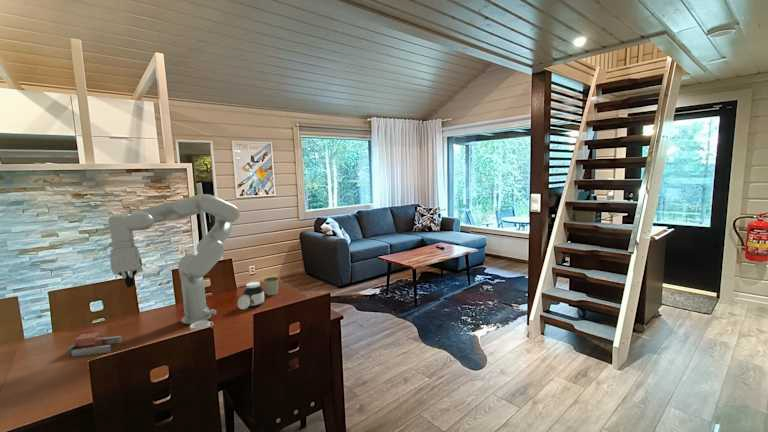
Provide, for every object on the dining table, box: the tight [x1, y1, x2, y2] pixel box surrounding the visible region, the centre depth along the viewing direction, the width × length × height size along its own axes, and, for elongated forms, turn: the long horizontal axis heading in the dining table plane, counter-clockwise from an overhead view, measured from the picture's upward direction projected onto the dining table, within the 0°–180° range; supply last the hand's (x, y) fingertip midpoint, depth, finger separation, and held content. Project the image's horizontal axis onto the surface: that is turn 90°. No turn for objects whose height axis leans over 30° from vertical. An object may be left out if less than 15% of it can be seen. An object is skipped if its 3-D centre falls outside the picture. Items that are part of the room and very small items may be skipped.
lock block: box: [73, 331, 104, 349], centre depth 145 cm, size 7×5×6 cm
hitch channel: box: [67, 335, 122, 358], centre depth 145 cm, size 14×9×4 cm
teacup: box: [189, 320, 214, 332], centre depth 155 cm, size 10×8×5 cm
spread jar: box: [237, 281, 265, 310], centre depth 187 cm, size 12×11×12 cm
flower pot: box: [262, 276, 281, 297], centre depth 206 cm, size 9×9×9 cm
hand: (130, 286), depth 153 cm, fingers closed
